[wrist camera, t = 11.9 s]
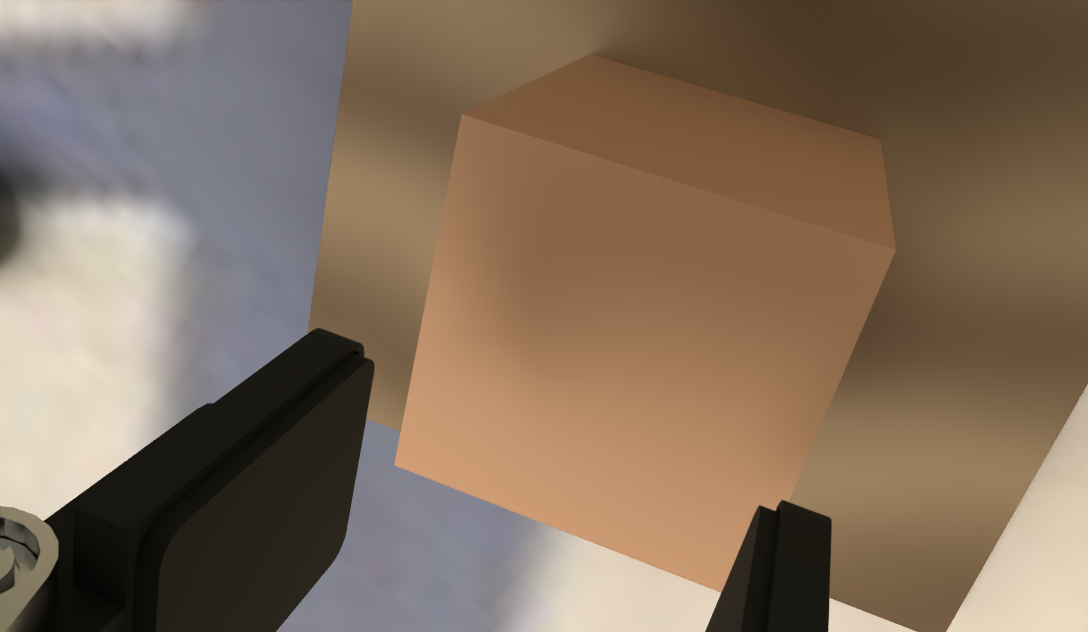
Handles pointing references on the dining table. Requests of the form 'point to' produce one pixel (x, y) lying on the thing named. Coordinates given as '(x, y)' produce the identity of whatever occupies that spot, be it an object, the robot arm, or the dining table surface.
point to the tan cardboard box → (642, 308)
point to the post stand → (916, 210)
